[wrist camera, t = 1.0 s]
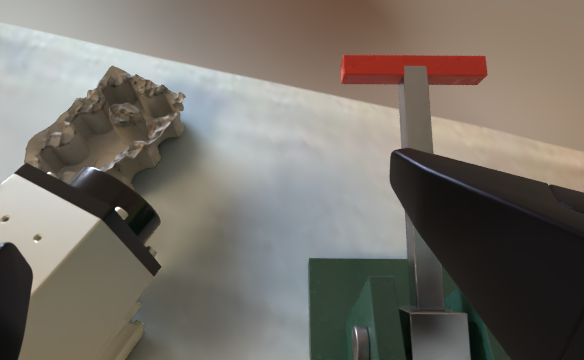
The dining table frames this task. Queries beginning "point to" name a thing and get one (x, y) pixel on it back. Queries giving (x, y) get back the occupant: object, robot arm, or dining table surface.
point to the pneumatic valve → (80, 261)
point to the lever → (421, 261)
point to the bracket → (375, 311)
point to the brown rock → (110, 129)
